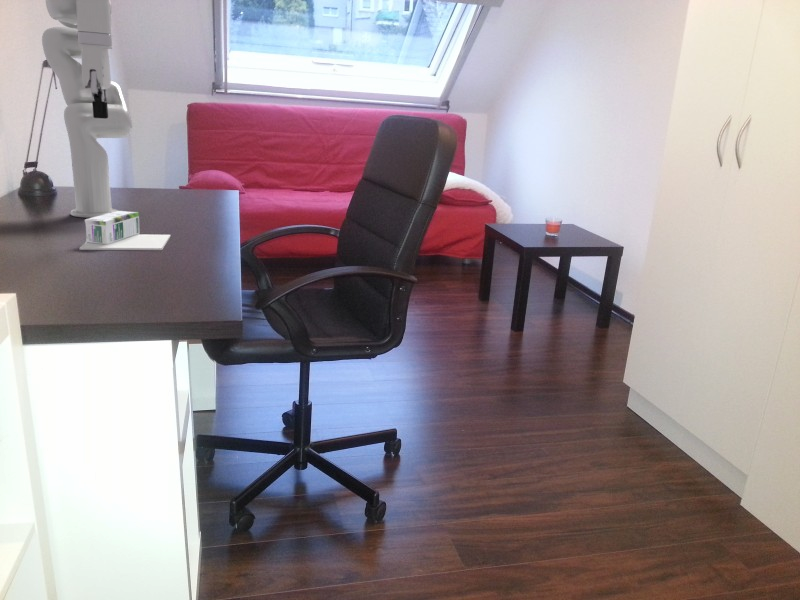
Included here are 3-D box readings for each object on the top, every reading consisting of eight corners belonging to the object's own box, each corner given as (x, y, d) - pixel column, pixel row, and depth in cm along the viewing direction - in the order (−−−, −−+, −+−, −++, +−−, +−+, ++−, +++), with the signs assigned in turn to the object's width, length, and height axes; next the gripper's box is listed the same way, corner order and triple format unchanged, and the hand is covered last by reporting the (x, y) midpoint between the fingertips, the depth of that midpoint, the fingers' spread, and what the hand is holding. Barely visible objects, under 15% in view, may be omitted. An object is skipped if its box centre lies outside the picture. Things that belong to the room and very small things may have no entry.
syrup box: (140, 234, 166) (108, 245, 153) (119, 232, 167) (85, 242, 153) (139, 212, 165) (106, 221, 151) (117, 210, 166) (83, 219, 152)
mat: (95, 235, 164) (95, 233, 164) (170, 236, 168) (170, 234, 167) (79, 249, 149) (79, 247, 149) (161, 250, 153) (161, 248, 152)
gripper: (86, 41, 166) (91, 115, 171) (70, 38, 152) (77, 118, 158) (117, 44, 167) (122, 117, 173) (105, 41, 154) (110, 120, 159)
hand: (100, 117), depth 165 cm, fingers closed
